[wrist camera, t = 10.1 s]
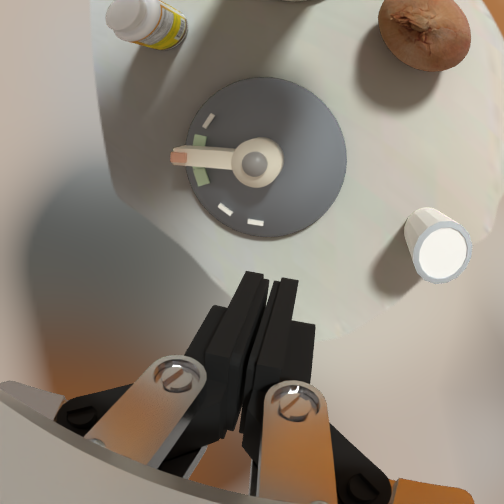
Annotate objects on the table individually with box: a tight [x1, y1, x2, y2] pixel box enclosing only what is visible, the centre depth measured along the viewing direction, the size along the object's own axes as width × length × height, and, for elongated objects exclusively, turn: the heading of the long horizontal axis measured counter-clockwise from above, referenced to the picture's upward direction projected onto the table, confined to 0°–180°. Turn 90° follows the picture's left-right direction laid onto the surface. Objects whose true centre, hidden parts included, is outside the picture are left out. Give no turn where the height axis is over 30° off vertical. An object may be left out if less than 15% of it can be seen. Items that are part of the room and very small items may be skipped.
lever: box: [170, 137, 284, 188], centre depth 32 cm, size 11×5×4 cm, turn 86°
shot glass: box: [404, 207, 472, 284], centre depth 31 cm, size 7×7×7 cm
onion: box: [378, 0, 471, 72], centre depth 22 cm, size 10×9×10 cm
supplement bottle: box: [106, 0, 188, 50], centre depth 26 cm, size 6×6×10 cm
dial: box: [186, 77, 347, 237], centre depth 34 cm, size 18×18×2 cm
